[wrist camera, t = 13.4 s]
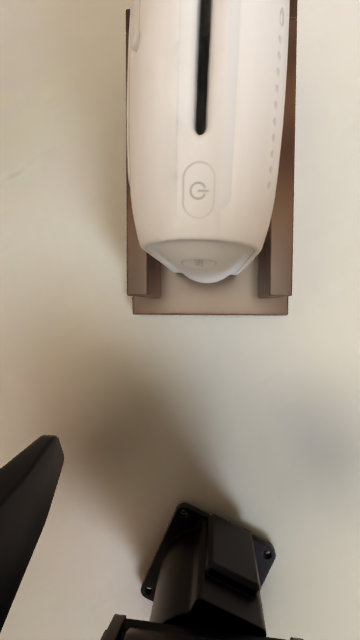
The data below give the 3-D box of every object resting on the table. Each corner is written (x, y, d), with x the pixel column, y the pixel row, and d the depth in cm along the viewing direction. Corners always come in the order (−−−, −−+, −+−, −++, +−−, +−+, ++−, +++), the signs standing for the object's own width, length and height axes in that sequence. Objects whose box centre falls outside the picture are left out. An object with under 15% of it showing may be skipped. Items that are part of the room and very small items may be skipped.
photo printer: (243, 287, 19) (296, 255, 7) (169, 284, 20) (95, 250, 7) (253, 101, 19) (329, -284, 6) (176, 102, 19) (111, -259, 7)
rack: (284, 314, 20) (307, 318, 15) (136, 314, 21) (112, 316, 16) (288, 72, 19) (314, -8, 14) (135, 81, 20) (110, 9, 15)
